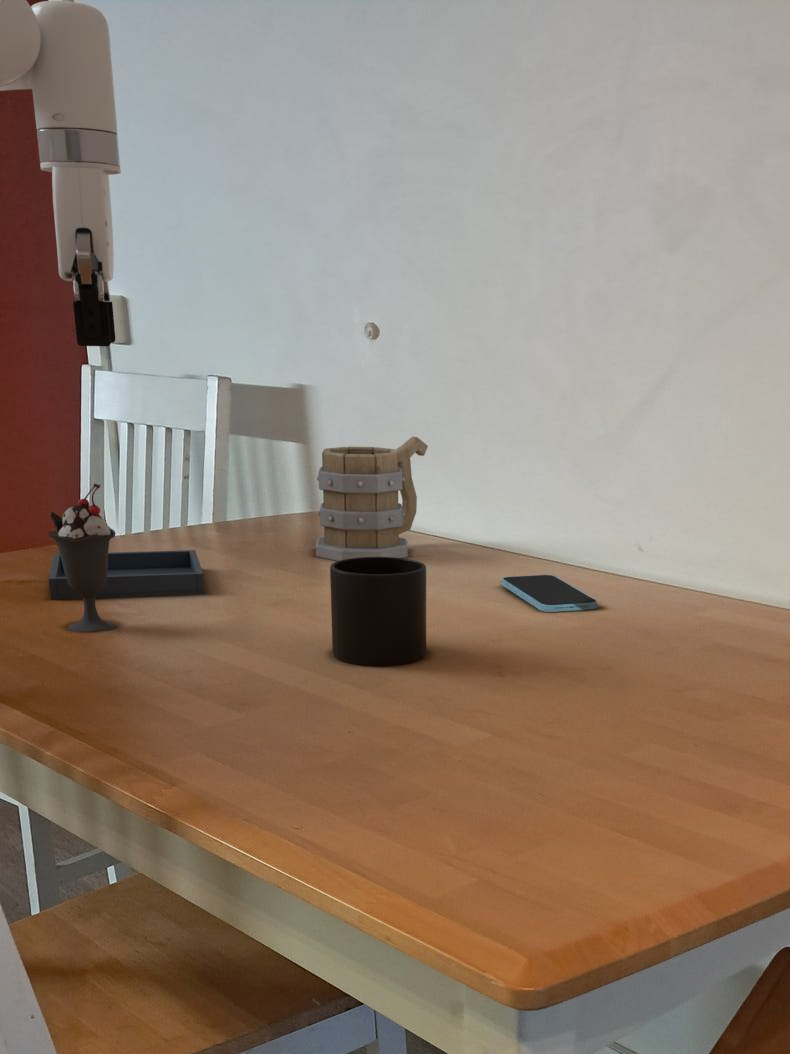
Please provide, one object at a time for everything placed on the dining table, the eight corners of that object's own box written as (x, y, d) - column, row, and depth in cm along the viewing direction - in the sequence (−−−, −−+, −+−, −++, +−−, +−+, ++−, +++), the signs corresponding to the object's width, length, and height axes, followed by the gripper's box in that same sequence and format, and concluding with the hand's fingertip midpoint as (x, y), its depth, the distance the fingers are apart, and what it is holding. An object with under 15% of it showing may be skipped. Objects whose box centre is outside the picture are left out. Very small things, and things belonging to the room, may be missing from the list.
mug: (408, 636, 136) (408, 550, 132) (436, 665, 125) (436, 572, 122) (321, 640, 134) (318, 553, 130) (341, 670, 123) (339, 576, 119)
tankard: (361, 567, 170) (359, 450, 164) (297, 554, 177) (293, 441, 171) (460, 548, 184) (461, 439, 178) (397, 537, 191) (396, 432, 185)
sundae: (136, 628, 137) (123, 484, 131) (80, 638, 132) (64, 490, 126) (103, 617, 141) (89, 478, 135) (48, 627, 137) (31, 483, 131)
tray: (51, 601, 148) (48, 578, 147) (55, 574, 162) (53, 554, 161) (204, 595, 152) (203, 573, 151) (196, 570, 166) (195, 549, 165)
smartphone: (543, 605, 146) (498, 577, 159) (543, 615, 147) (498, 585, 159) (600, 602, 148) (552, 574, 161) (600, 611, 149) (551, 582, 162)
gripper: (47, 161, 131) (66, 340, 138) (29, 144, 115) (51, 347, 122) (123, 164, 132) (137, 341, 139) (115, 147, 117) (132, 348, 124)
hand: (97, 344), depth 131 cm, fingers open, 9 cm apart
